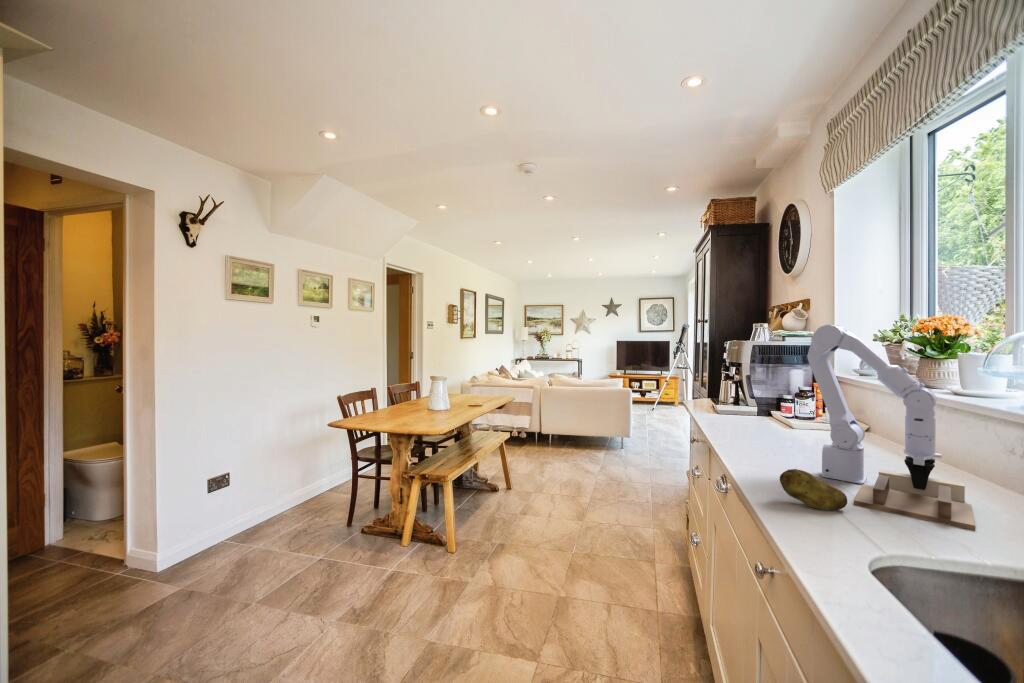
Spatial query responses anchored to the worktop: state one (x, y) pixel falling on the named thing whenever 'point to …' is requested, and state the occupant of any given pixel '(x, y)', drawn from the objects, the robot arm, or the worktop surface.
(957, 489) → the clay bar
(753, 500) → the worktop surface
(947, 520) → the wooden board stand
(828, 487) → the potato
